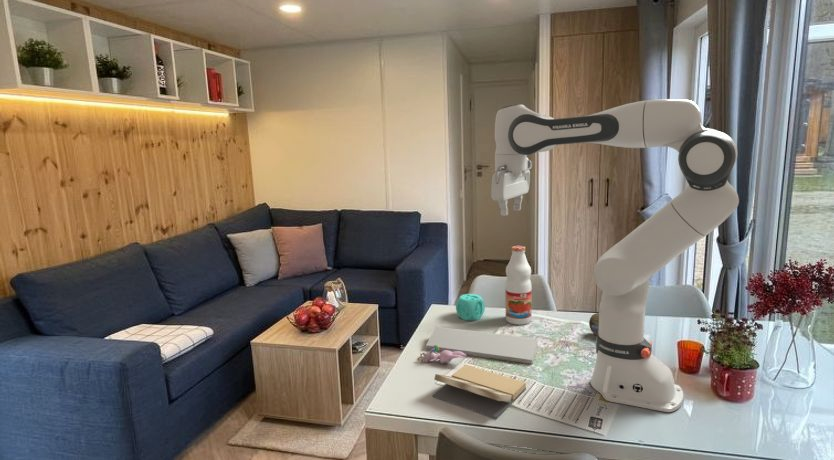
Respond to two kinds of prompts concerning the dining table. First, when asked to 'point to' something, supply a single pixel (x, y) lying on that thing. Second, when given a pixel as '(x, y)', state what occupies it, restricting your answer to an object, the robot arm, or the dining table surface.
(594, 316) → the tin
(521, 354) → the decorative molding
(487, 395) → the ash plank
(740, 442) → the dining table surface
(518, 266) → the fruit juice
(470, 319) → the decorative dice
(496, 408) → the laid floor
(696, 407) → the dining table surface
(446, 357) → the rabbit figure
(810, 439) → the dining table surface
